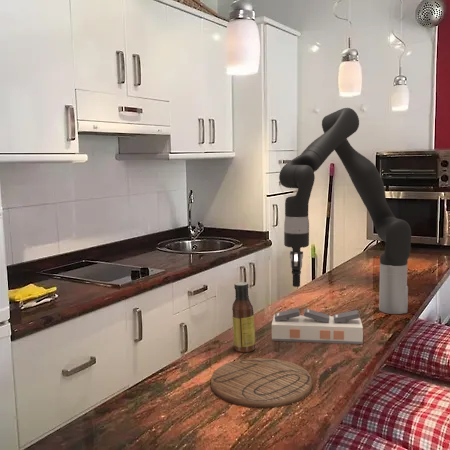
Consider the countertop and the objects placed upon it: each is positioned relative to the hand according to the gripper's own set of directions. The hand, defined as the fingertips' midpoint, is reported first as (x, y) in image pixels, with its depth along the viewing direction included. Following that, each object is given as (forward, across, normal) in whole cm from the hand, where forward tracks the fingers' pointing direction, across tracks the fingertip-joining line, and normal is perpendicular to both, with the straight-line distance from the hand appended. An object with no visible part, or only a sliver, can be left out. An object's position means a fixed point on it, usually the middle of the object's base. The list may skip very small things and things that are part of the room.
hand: (296, 286), depth 161 cm
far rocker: (+10, 0, +3) cm, 11 cm away
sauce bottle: (+16, -13, +15) cm, 26 cm away
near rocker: (+10, 0, -15) cm, 19 cm away
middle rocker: (+10, 0, -6) cm, 12 cm away
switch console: (+16, 0, -6) cm, 17 cm away
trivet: (+17, -35, +8) cm, 40 cm away
